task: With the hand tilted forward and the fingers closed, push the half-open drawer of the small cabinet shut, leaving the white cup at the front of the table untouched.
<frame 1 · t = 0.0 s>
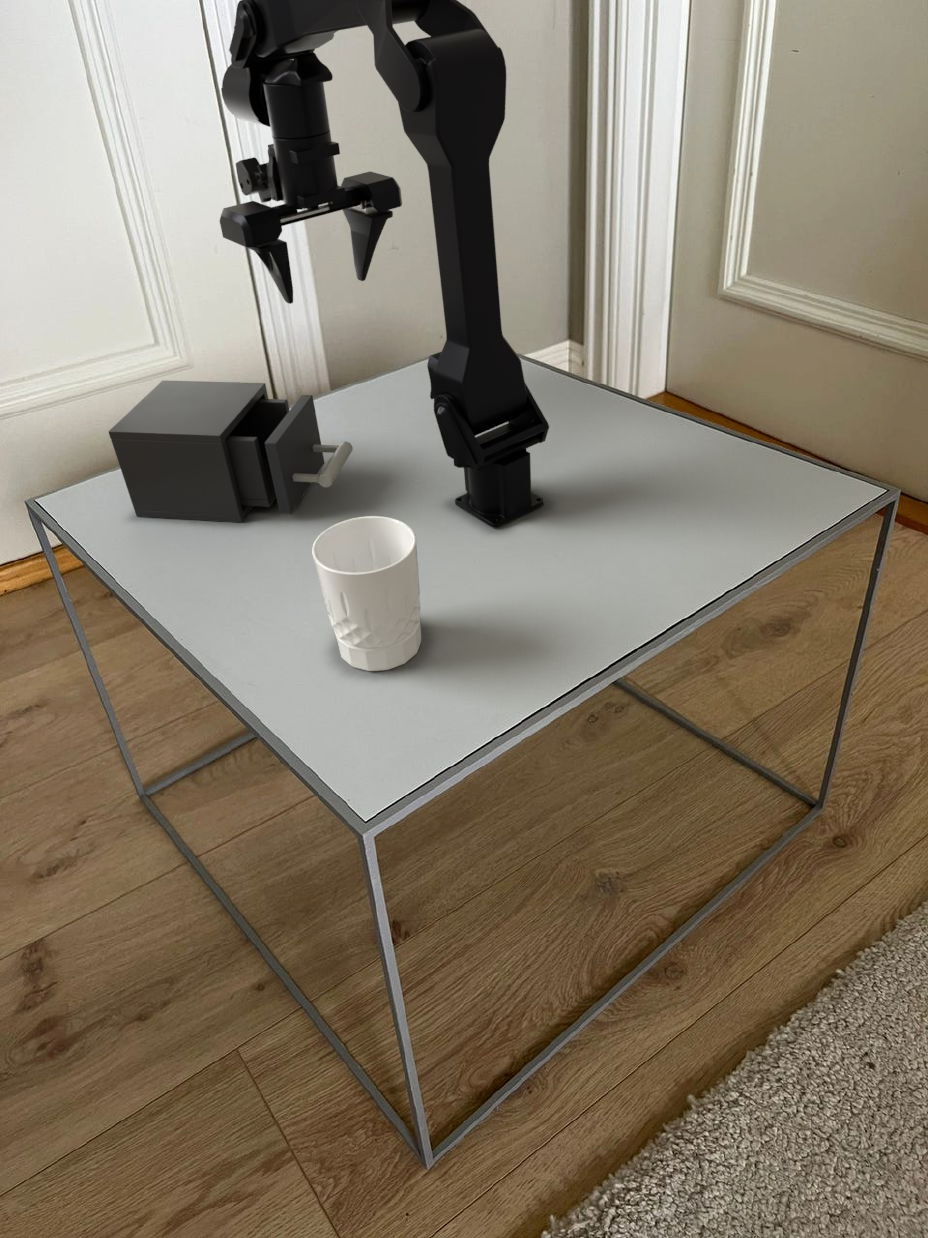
hand: (326, 290, 103), 15 cm above the table, tool pointing down, fingers open, 9 cm apart
cabinet: (211, 490, 100), on the table
white cup: (380, 647, 77), on the table
drawer: (272, 452, 95), point 5 cm above the table, slide at 4.0 cm
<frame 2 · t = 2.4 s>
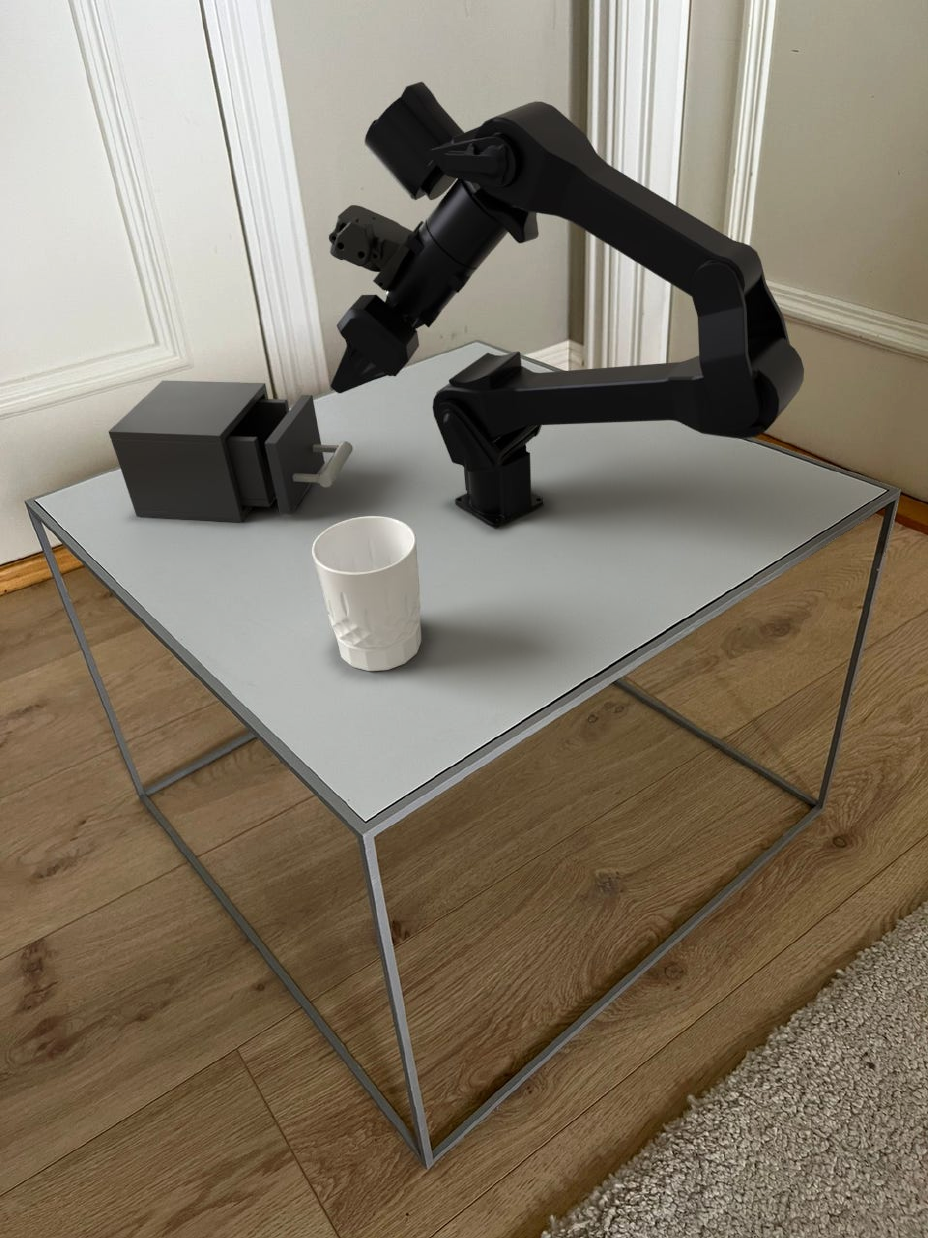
hand: (351, 368, 88), 14 cm above the table, tool tilted 45°, fingers open, 9 cm apart
nothing on the table moved.
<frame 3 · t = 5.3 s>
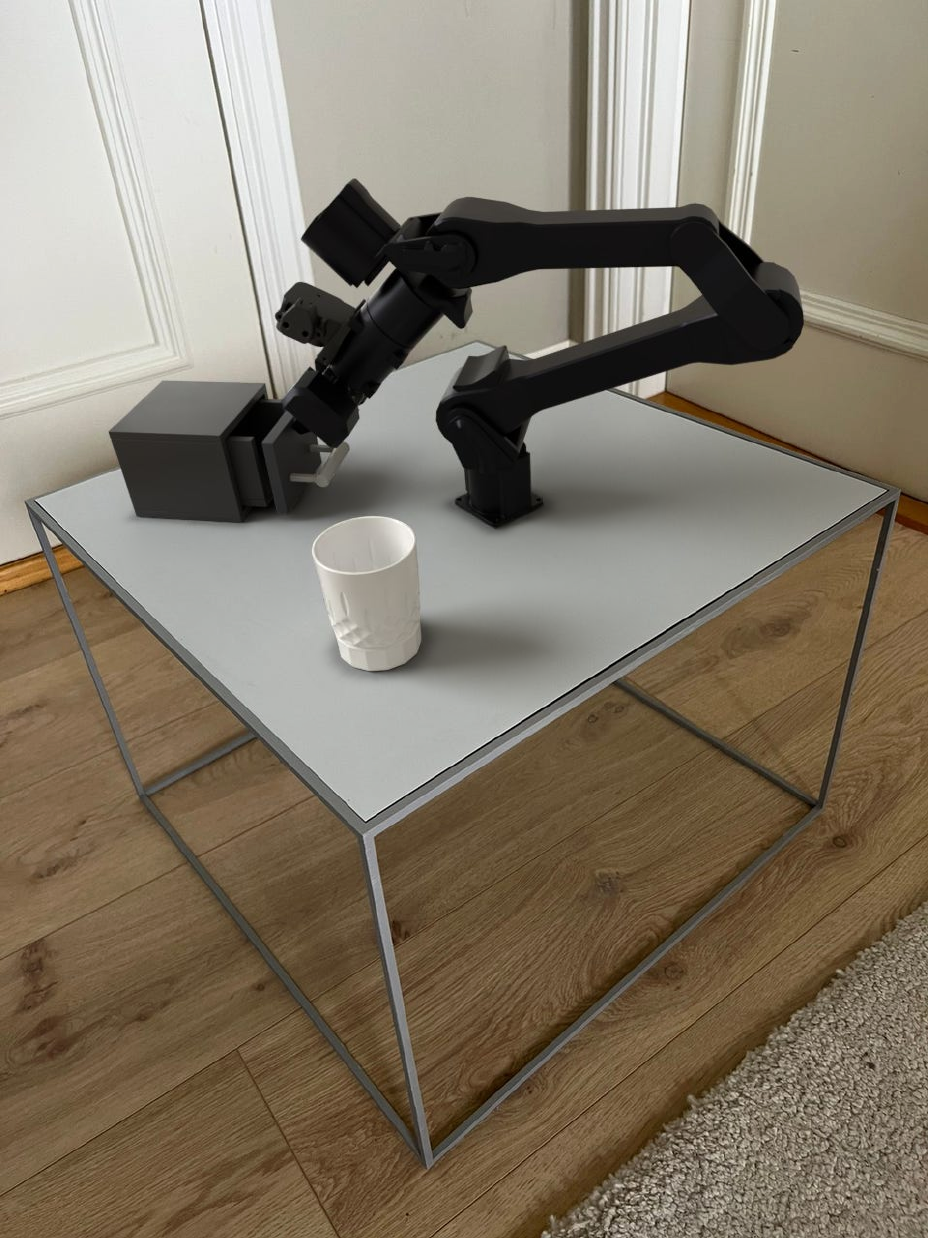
hand: (297, 429, 93), 7 cm above the table, tool tilted 45°, fingers closed, pressing on drawer
drawer: (269, 452, 95), point 5 cm above the table, slide at 3.7 cm, touching gripper
everything else where it was.
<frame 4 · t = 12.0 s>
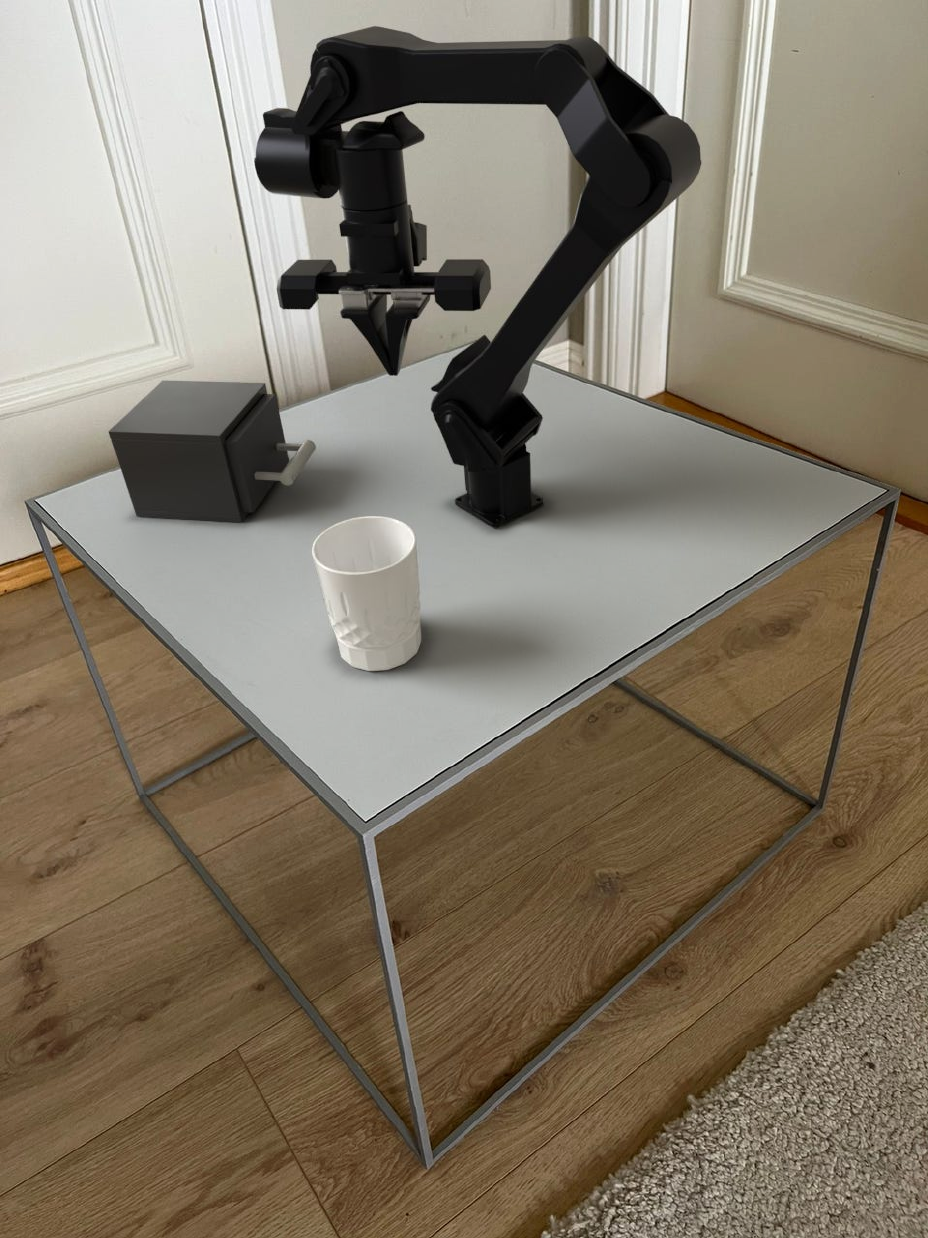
hand: (394, 373, 91), 12 cm above the table, tool pointing down, fingers closed
drawer: (235, 450, 96), point 5 cm above the table, slide at 0.0 cm, touching cabinet
everything else where it was.
at the end: drawer slide at 0.0 cm; white cup moved 0.2 cm from its start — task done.
